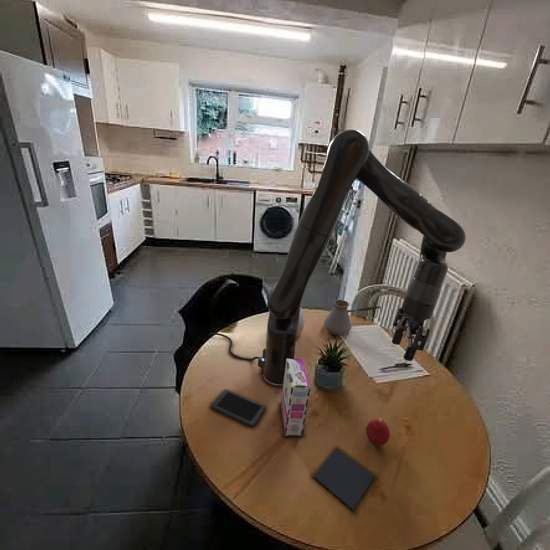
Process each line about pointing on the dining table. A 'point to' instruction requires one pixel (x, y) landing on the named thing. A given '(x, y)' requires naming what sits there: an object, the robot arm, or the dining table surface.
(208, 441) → the dining table surface
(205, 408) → the dining table surface
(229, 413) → the cell phone
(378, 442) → the onion
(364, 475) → the front mat
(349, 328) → the coffee pot
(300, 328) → the decorative egg
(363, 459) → the dining table surface
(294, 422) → the candy bar box
